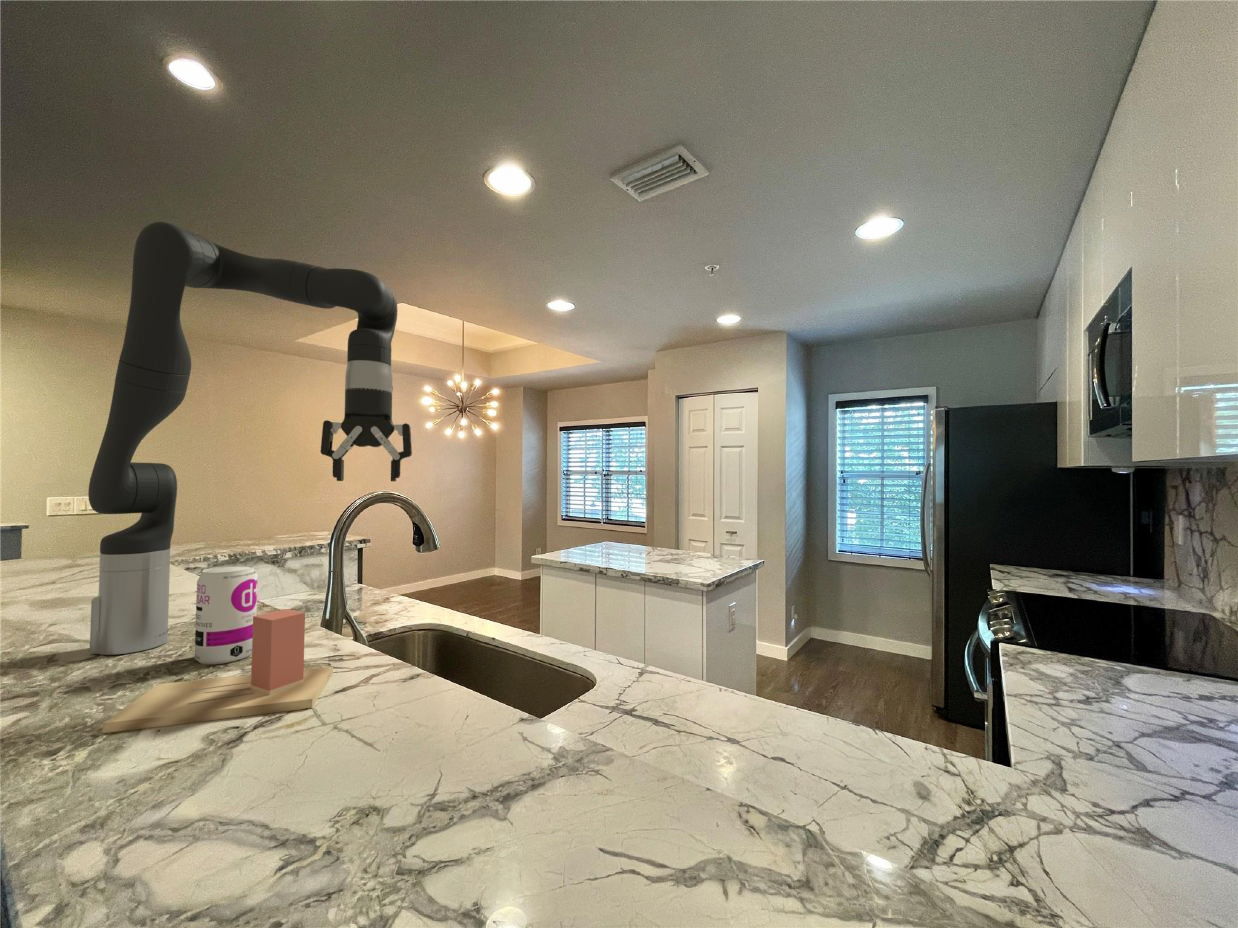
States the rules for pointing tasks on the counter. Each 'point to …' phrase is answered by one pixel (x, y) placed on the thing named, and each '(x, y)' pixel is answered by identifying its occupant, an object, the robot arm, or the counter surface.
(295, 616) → the block
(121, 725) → the oak board
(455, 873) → the counter surface
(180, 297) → the robot arm
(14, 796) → the counter surface
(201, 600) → the supplement can
